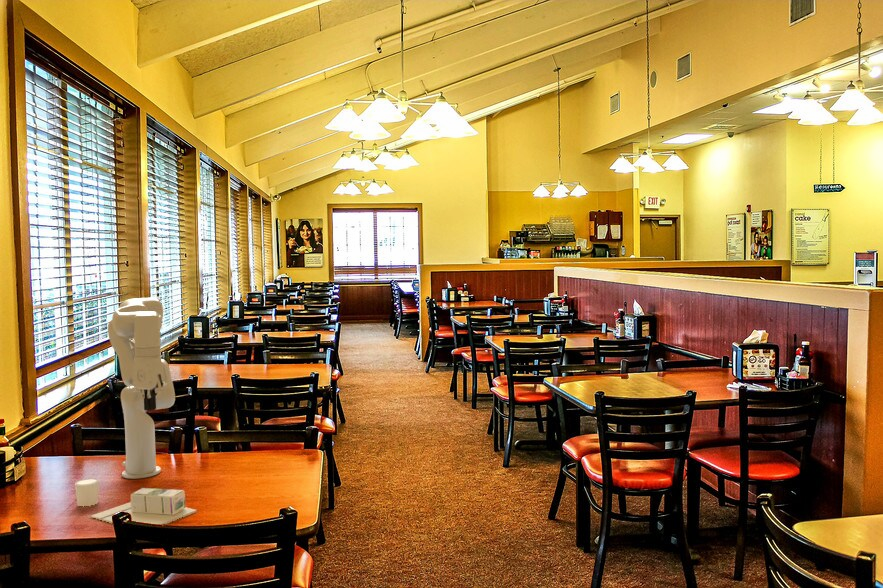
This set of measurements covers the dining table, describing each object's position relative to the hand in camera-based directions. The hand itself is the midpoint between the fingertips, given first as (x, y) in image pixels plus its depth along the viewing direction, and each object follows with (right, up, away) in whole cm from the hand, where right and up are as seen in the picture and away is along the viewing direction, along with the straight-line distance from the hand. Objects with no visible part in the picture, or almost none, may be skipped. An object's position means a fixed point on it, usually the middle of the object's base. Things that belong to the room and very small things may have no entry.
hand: (150, 409), depth 228 cm
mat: (+5, -28, -18) cm, 34 cm away
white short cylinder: (-16, -28, -7) cm, 33 cm away
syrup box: (+2, -24, -15) cm, 28 cm away
